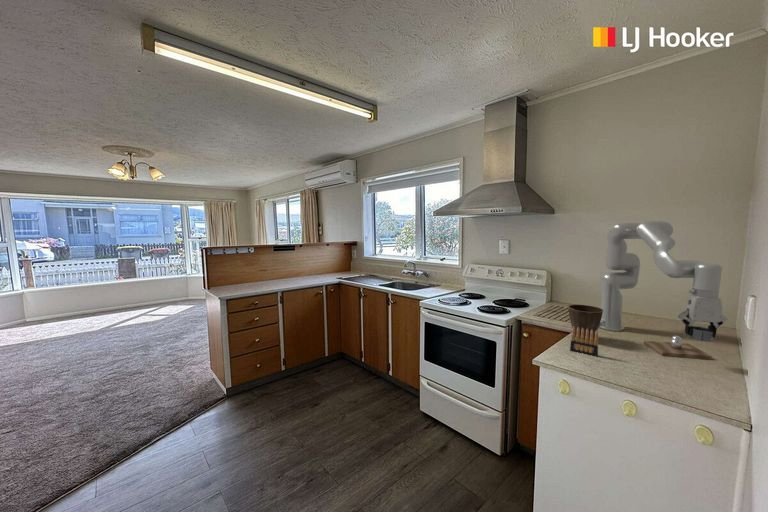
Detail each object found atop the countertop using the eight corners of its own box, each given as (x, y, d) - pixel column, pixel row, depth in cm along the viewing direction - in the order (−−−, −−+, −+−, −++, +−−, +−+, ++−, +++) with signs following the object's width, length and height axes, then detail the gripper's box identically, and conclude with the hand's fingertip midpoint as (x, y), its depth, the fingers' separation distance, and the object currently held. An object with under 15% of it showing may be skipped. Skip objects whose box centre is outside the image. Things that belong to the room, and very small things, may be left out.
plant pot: (560, 335, 163) (561, 305, 161) (581, 331, 167) (582, 303, 165) (586, 345, 148) (588, 313, 147) (608, 341, 153) (610, 310, 151)
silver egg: (673, 349, 139) (674, 336, 139) (668, 346, 143) (669, 334, 142) (683, 349, 138) (684, 337, 138) (677, 346, 142) (678, 334, 141)
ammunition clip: (597, 355, 137) (599, 329, 136) (597, 357, 136) (599, 331, 135) (570, 349, 144) (571, 325, 143) (569, 350, 143) (571, 326, 141)
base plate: (662, 355, 136) (662, 352, 136) (643, 343, 150) (644, 340, 149) (711, 359, 132) (711, 356, 132) (688, 346, 145) (688, 343, 145)
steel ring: (695, 340, 124) (696, 331, 124) (683, 334, 131) (684, 325, 130) (716, 342, 122) (718, 332, 122) (703, 335, 129) (704, 326, 129)
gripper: (685, 294, 123) (680, 337, 125) (739, 297, 118) (733, 340, 121) (673, 290, 130) (668, 330, 132) (723, 292, 126) (718, 333, 128)
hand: (699, 335), depth 126 cm, fingers closed on steel ring, 7 cm apart
